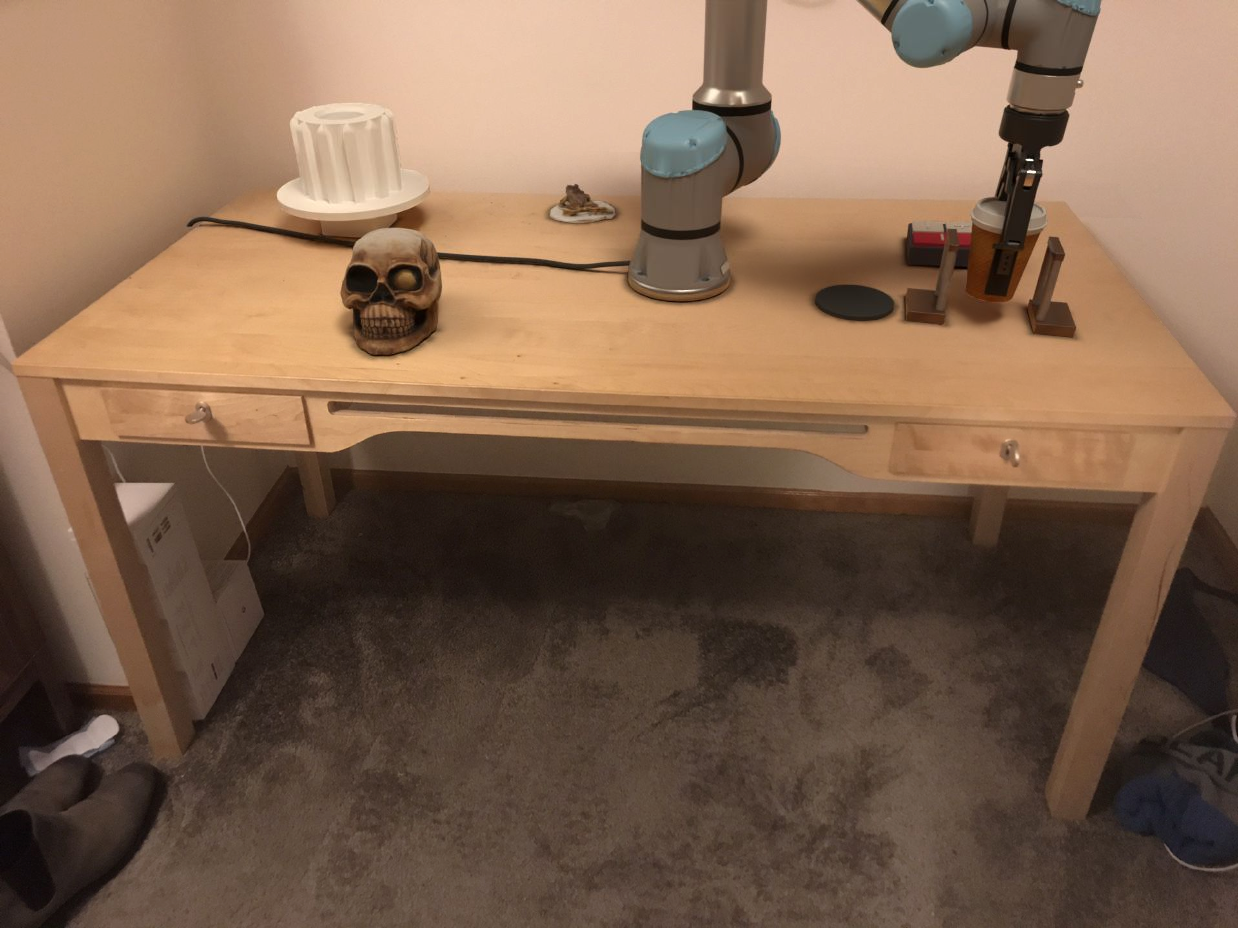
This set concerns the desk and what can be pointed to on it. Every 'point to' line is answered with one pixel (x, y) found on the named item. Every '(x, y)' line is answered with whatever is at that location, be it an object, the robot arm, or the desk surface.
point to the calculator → (936, 242)
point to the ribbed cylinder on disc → (349, 170)
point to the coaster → (854, 302)
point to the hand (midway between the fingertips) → (992, 281)
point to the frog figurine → (581, 208)
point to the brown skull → (392, 290)
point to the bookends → (1040, 309)
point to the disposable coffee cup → (987, 233)
